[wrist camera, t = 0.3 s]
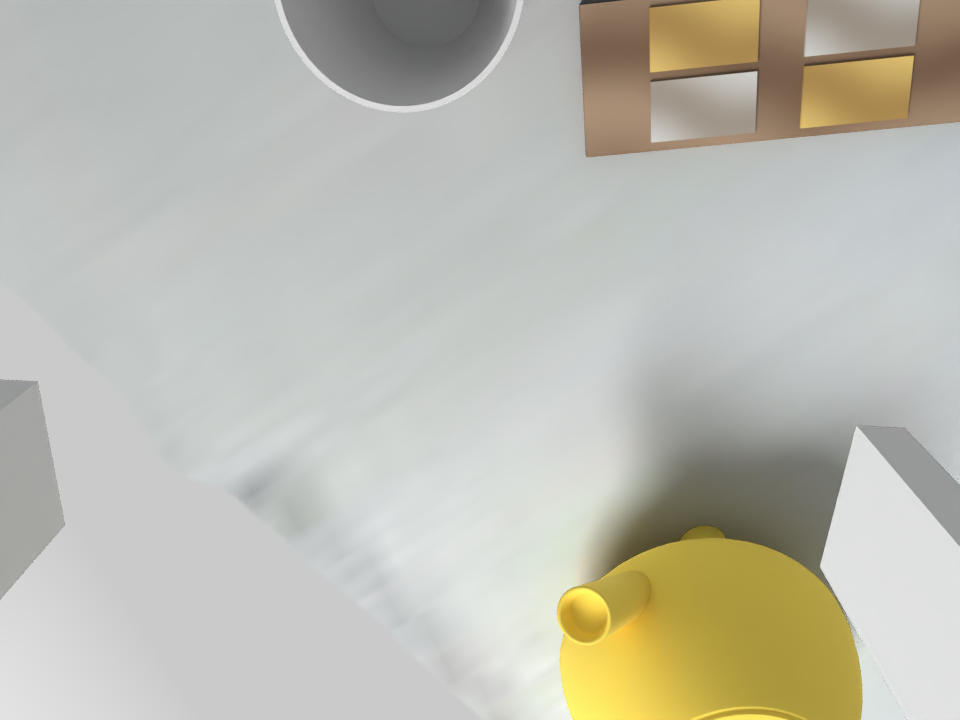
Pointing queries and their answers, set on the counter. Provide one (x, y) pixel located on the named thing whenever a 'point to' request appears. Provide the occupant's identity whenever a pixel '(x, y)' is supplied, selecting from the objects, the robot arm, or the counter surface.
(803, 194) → the counter surface
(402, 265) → the counter surface
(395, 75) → the cup
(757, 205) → the counter surface
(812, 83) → the card
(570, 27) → the counter surface
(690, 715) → the teapot
